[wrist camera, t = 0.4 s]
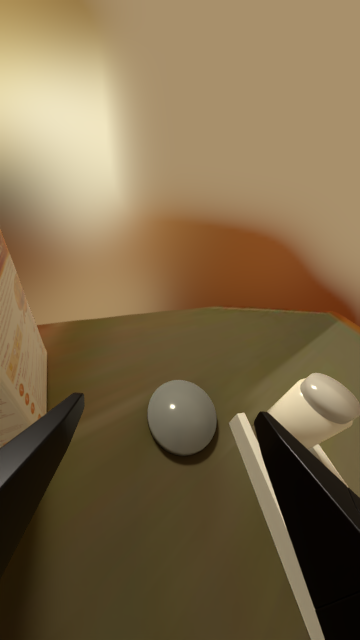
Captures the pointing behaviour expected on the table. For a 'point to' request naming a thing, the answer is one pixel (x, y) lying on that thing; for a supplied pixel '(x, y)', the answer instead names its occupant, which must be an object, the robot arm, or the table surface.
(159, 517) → the table surface
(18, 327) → the coffeecake box
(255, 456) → the channel
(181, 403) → the coaster
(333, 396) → the salt mill
